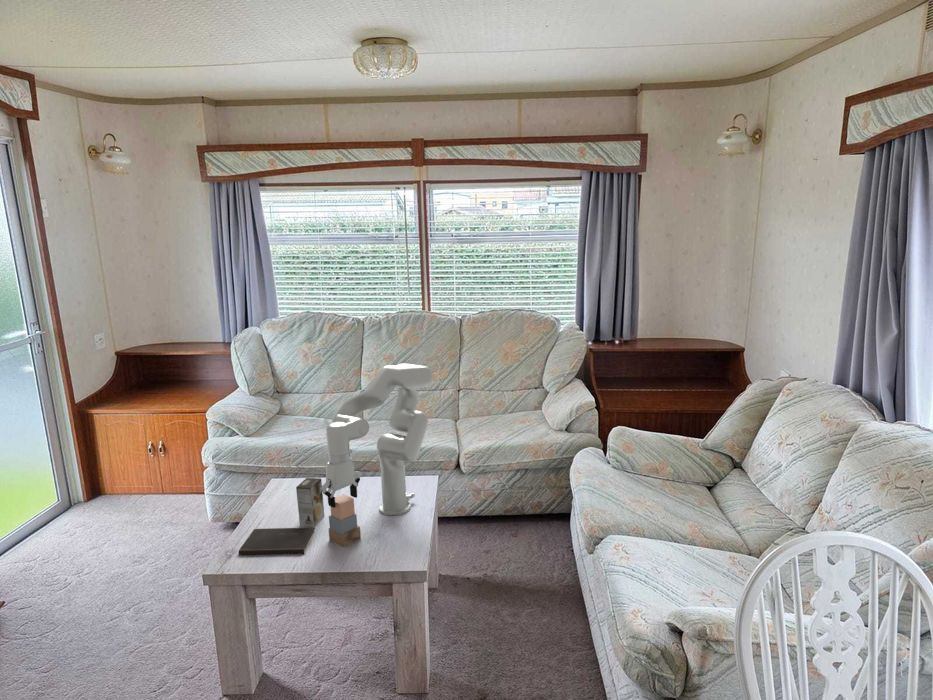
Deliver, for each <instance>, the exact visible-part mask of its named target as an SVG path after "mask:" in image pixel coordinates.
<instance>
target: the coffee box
mask: <svg viewBox="0 0 933 700" xmlns="http://www.w3.org/2000/svg"><path fill="white" fill-rule="evenodd" d="M322 482H323V481H322V478H321V477H317V478H315V477H306V478H305V479H304V480H303V481H301V482H300V483H299V484H298V485H297V486H296V487H295V489H296V490H295V491H296V500H297V509H298V510H297V511H298V519H299V520H298V521H299V526H300V527H303V526H304V527H311V528H315V527H316V526H317V525H318V524H319V522H320V521H321V520H322V519H323V518H324V517H325V507H324V494H323V492H322V491H321V489H320V488H321V487H322V486H323V484H322Z"/></svg>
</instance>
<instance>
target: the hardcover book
mask: <svg viewBox="0 0 933 700" xmlns="http://www.w3.org/2000/svg"><path fill="white" fill-rule="evenodd" d="M315 530H316V527H281V528H280V527H279V528H278V527H277V528H276V527H275V528H271V527H270V528H254V529H253V530H252V532H251V533H250V534H249V536H248V537H247V538H246V539H245V541H244V542H243V544H242V545H241V547H240V548H239V550H238V556H239V557H240V556H244V557H245V556H247V557H248V556H282V555H283V556H285V555H287V556H288V555H289V556H291V555H305V552H306V549H308V546H309V544H310V542H311V540H312V539H313V537H314V535H315Z"/></svg>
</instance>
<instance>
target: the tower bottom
mask: <svg viewBox="0 0 933 700" xmlns="http://www.w3.org/2000/svg"><path fill="white" fill-rule="evenodd" d="M328 539H329V540H328V541H329V542H331V543H333V544H336V545H337V546H339V547H341V548H346V547H347V546H350V545H351V544H353V543H356V542H357V541H359V540H361V539H362V533H361V526H360V525H358V524H357V527H356V528H354V529H352V530H350V531H348V532H346V533H344V534H340V533H338V532H336V531H333V530H331V529H330V527H328Z"/></svg>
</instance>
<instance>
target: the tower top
mask: <svg viewBox="0 0 933 700" xmlns="http://www.w3.org/2000/svg"><path fill="white" fill-rule="evenodd" d="M357 515H358V514H357V513H355V514H354V515H352V516H349V517H347V518H345V519H343V520H340V519H338V518H336V517H334V516H332V515H331V514H330V515H328V525H329V528H330V529H331V530H333V531H336V532H338V533H340V534H344V533H346V532H348V531H350V530H352V529H354V528H356V527H357V525H358V520H357V517H358V516H357Z"/></svg>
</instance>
